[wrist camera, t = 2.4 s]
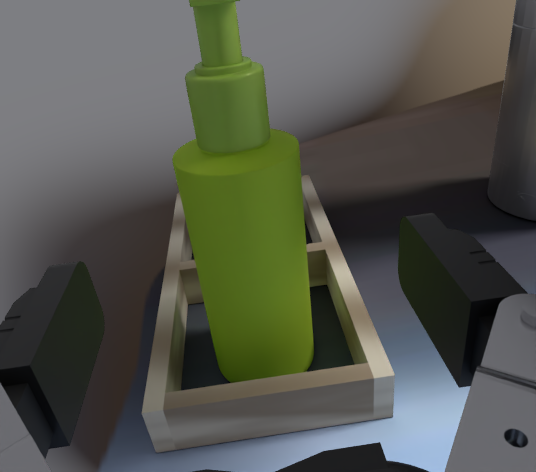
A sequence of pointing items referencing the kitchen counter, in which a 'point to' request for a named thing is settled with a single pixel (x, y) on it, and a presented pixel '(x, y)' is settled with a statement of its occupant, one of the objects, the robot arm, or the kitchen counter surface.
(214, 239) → the soap dispenser
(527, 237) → the kitchen counter surface
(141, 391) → the kitchen counter surface
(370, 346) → the caddy
